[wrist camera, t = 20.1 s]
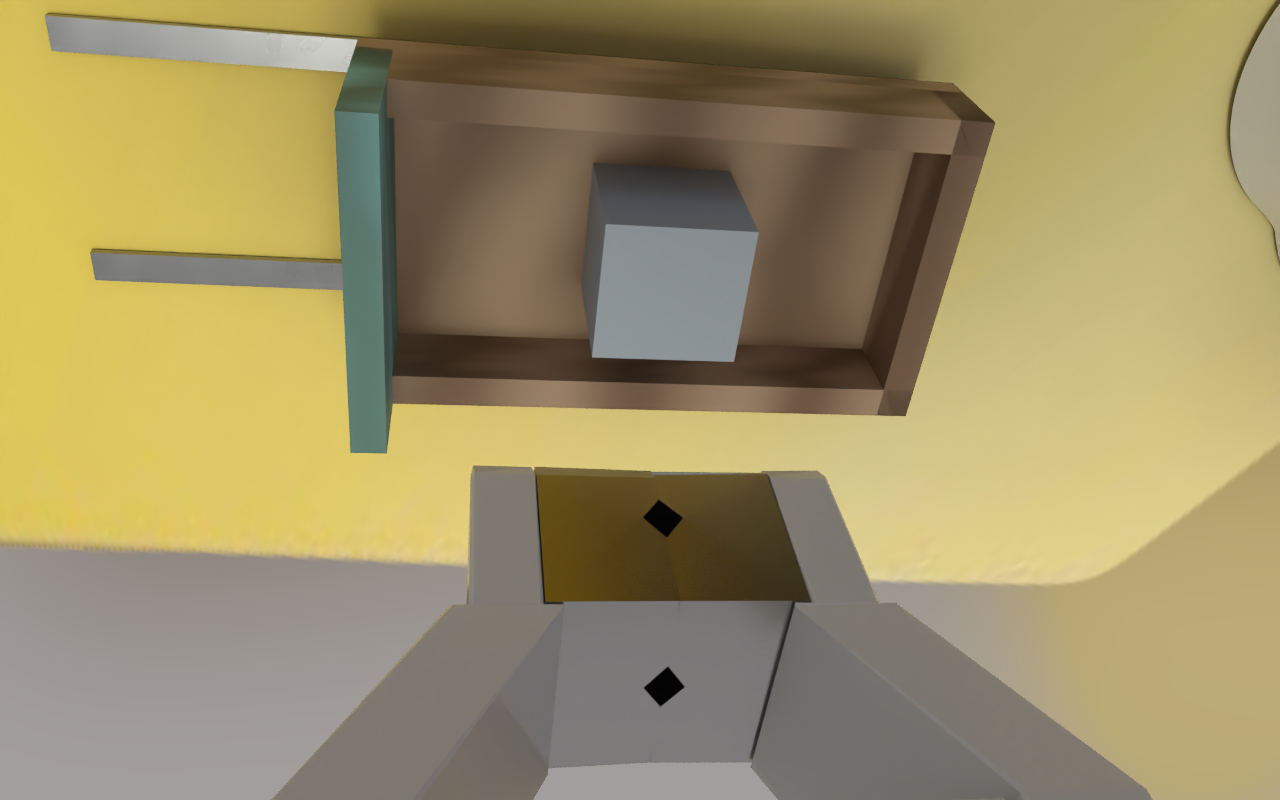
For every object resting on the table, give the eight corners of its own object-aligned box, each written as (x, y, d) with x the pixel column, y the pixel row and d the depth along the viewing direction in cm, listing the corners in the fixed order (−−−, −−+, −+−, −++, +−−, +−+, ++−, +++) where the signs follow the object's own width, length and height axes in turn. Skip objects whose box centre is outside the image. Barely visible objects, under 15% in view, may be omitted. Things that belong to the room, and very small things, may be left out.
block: (730, 171, 39) (759, 232, 35) (709, 292, 42) (733, 362, 38) (592, 162, 38) (605, 224, 34) (581, 286, 41) (591, 357, 37)
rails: (902, 79, 42) (905, 81, 42) (845, 307, 48) (847, 310, 47) (47, 13, 37) (44, 15, 37) (97, 276, 43) (95, 279, 43)
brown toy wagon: (929, 61, 41) (1032, 157, 34) (858, 331, 48) (931, 462, 40) (365, 16, 38) (334, 111, 30) (373, 312, 45) (350, 452, 37)
